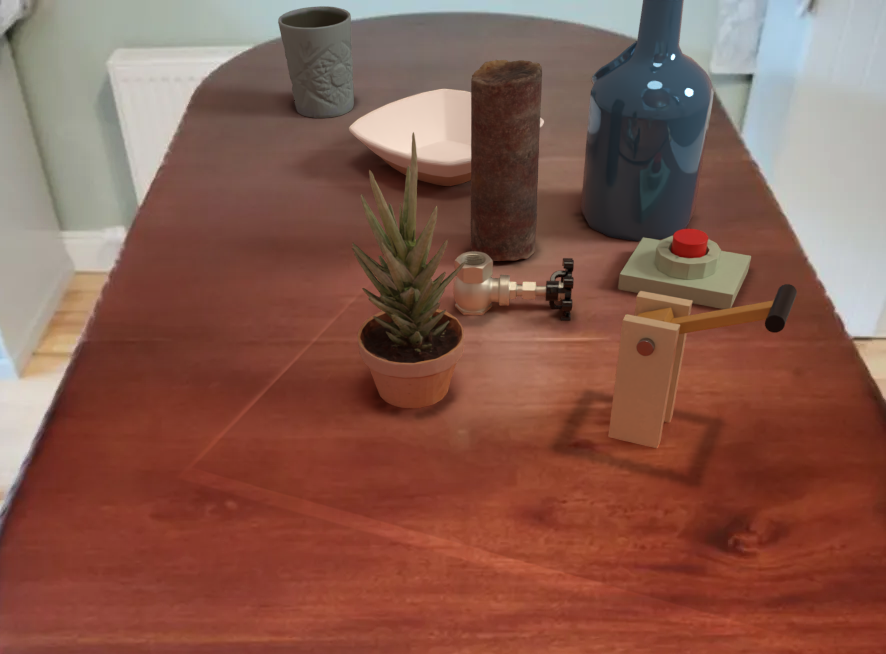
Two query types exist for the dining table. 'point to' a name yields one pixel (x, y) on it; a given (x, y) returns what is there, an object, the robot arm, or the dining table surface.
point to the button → (689, 243)
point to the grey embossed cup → (319, 60)
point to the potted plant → (407, 306)
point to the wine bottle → (646, 133)
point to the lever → (734, 314)
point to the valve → (506, 286)
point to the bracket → (647, 371)
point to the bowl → (423, 135)
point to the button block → (685, 273)
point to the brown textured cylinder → (505, 158)
